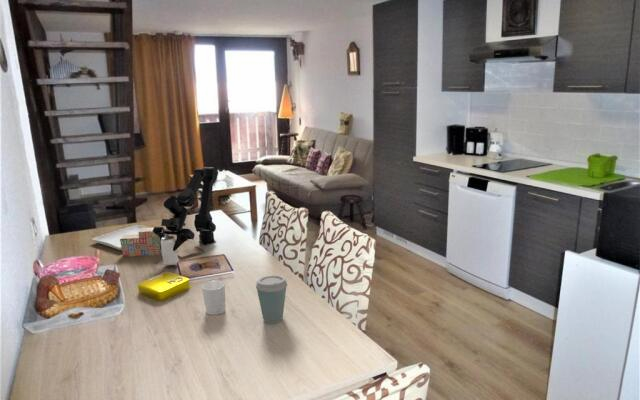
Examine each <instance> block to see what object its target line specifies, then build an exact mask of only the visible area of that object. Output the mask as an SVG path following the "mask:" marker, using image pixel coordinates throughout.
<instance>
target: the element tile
mask: <svg viewBox="0 0 640 400" xmlns="http://www.w3.org/2000/svg"><path fill="white" fill-rule="evenodd" d="M137 288H138V293H139V295H141V296H143V297H146V298H147V299H151V300H153V301H154V302H158V303H159V302H164V301H167V300H169V299H171V298H173V297H175V296H178V295H179V294H182V293H184V292H186V291H188V290H189V289H190V288H191V284H190V278H188V277H186V276H184V275H180V274H177V273H174V272H171V271H165V272H162V273H160V274H158V275H155V276H154V277H150V278H148V279H146V280H143V281H140V282H139V283H138V284H137Z"/></svg>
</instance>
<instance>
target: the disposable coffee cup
mask: <svg viewBox="0 0 640 400" xmlns="http://www.w3.org/2000/svg"><path fill="white" fill-rule="evenodd" d="M287 287H288V282H287V279H286V277H284V276H282V275H275V274H273V275H265V276H262V277H260V278H259V279H258V280H257V281H256V282H255V289H256V291H257V295H258V296H257V297H258V300H259V306H260V310H261V315H262V319H263V322H265V323H266V324H271V325H272V324H277V323H280V322H282V321H283V318H284V309H285V303H286V302H285V301H286V294H287V293H286V292H287Z"/></svg>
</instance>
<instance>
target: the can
mask: <svg viewBox="0 0 640 400" xmlns="http://www.w3.org/2000/svg"><path fill="white" fill-rule="evenodd" d="M175 242H176V238H175V235H169V236H164V237H162V238H161V249H162V255H161V256H162V262H163V264H164V265H165V266H173V265H177V264H178V262H179V257H178V254H177V252H178V249H176V250H175V251H173V248H174V245H175Z"/></svg>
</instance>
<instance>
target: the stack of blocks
mask: <svg viewBox="0 0 640 400" xmlns="http://www.w3.org/2000/svg"><path fill="white" fill-rule="evenodd" d="M162 227H163V228H164V229H165V230H168V229H167V228H165V227H166V226H162ZM153 229H154V227H150V228H142V229H141V230H140V231H139V232H138V233H139V234H131V235H124V236H123V237H122V238H120V242H121V248H122V250H121V253H122V254H121V255H122V257H143V256H162V250H161V249H160V237H159V236H157V235H156V234H155V233H154V232H152V231H153ZM167 236H170V234H167Z"/></svg>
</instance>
